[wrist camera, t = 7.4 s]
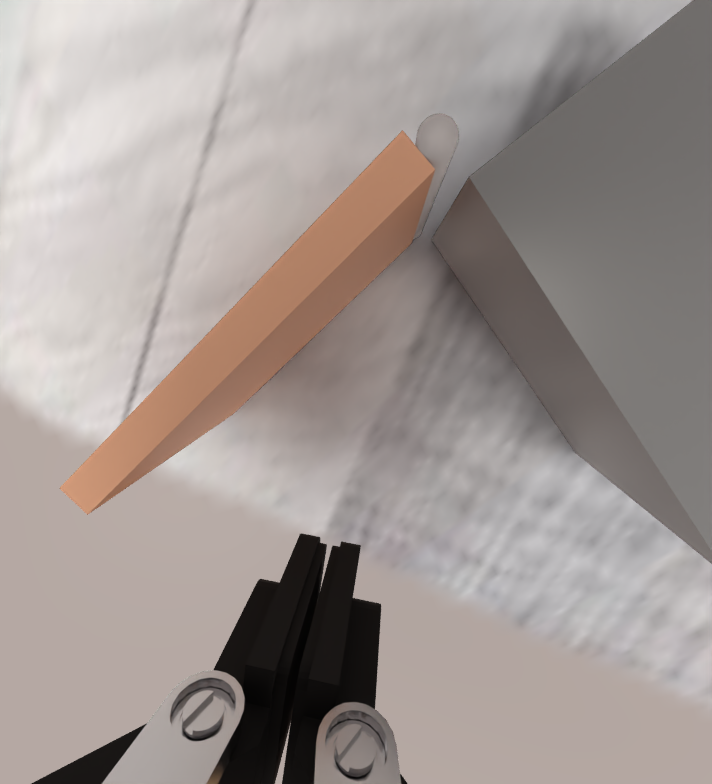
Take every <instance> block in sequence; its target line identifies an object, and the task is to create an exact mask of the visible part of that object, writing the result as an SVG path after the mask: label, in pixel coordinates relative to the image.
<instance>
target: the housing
mask: <svg viewBox="0 0 712 784" xmlns="http://www.w3.org/2000/svg"><path fill="white" fill-rule="evenodd" d="M431 240H432V241H433V243H434V244H435V246H436V247H437V249H438V250H439V252H440V253H441V255H442V256H443V258H444V259H445V261H446V262H447V264H448V265H449V267H450V268H451V269H452V271H453V272H454V274H455V275H456V277H457V278H458V280H459V281H460V283H461V284H462V286H463V287H464V289H465V290H466V292H467V293H468V295H469V296H470V298H471V299H472V301H473V302H474V303H475V305H476V306H477V308H478V309H479V311H480V312H481V314H482V315H483V317H484V318H485V320H486V321H487V323H488V324H489V326H490V327H491V329H492V330H493V332H494V333H495V335H496V336H497V337H498V339H499V340H500V342H501V343H502V345H503V346H504V348H505V349H506V351H507V352H508V354H509V355H510V357H511V358H512V360H513V361H514V363H515V364H516V366H517V367H518V369H519V370H520V371H521V373H522V374H523V376H524V377H525V379H526V380H527V382H528V383H529V385H530V386H531V388H532V389H533V391H534V392H535V394H536V395H537V397H538V398H539V400H540V401H541V403H542V404H543V405H544V407H545V408H546V410H547V411H548V413H549V414H550V416H551V417H552V419H553V420H554V422H555V423H556V425H557V426H558V428H559V429H560V431H561V432H562V434H563V435H564V437H565V438H566V439H567V441H568V442H569V444H570V445H571V447H572V448H573V450H574V451H575V453H576V454H577V455H579V456H580V457H581V458H582V459H584V460H585V461H586V462H587V463H589V464H590V465H591V466H592V467H593V468H595V469H596V470H597V471H598V472H600V473H601V474H602V475H603V476H604V477H606V478H607V479H608V480H609V481H611V482H612V483H613V484H614V485H616V486H617V487H618V488H619V489H620V490H622V491H623V492H624V493H625V494H627V495H628V496H629V497H630V498H632V499H633V500H634V501H635V502H636V503H638V504H639V505H640V506H641V507H643V508H644V509H645V510H646V511H648V512H649V513H650V514H651V515H652V516H654V517H655V518H656V519H657V520H659V521H660V522H661V523H662V524H663V525H665V526H666V527H667V528H668V529H670V530H671V531H672V532H673V533H675V534H676V535H677V536H678V537H679V538H681V539H682V540H683V541H684V542H686V543H687V544H688V545H689V546H691V547H692V548H693V549H694V550H695V551H697V552H698V553H699V554H700V555H702V556H703V557H704V558H705V559H707V560H708V561H709V562H710V563H711V564H712V0H693V1H692V2H691V3H690V4H688V5H687V6H686V7H684V8H683V9H682V10H681V11H679V12H678V13H677V14H676V15H674V16H673V17H672V18H670V19H669V20H668V21H667V22H665V23H664V24H663V25H662V26H660V27H659V28H658V29H656V30H655V31H654V32H653V33H651V34H650V35H649V36H648V37H646V38H645V39H644V40H642V41H641V42H640V43H639V44H637V45H636V46H635V47H634V48H632V49H631V50H630V51H628V52H627V53H626V54H625V55H623V56H622V57H621V58H620V59H618V60H617V61H616V62H614V63H613V64H612V65H611V66H609V67H608V68H607V69H606V70H604V71H603V72H602V73H600V74H599V75H598V76H597V77H595V78H594V79H593V80H592V81H590V82H589V83H588V84H587V85H585V86H584V87H583V88H581V89H580V90H579V91H578V92H576V93H575V94H574V95H573V96H571V97H570V98H569V99H567V100H566V101H565V102H564V103H562V104H561V105H560V106H559V107H557V108H556V109H555V110H553V111H552V112H551V113H550V114H548V115H547V116H546V117H545V118H543V119H542V120H541V121H539V122H538V123H537V124H536V125H534V126H533V127H532V128H531V129H529V130H528V131H527V132H525V133H524V134H523V135H522V136H520V137H519V138H518V139H517V140H515V141H514V142H513V143H511V144H510V145H509V146H508V147H506V148H505V149H504V150H503V151H501V152H500V153H499V154H497V155H496V156H495V157H494V158H492V159H491V160H490V161H489V162H487V163H486V164H485V165H483V166H482V167H481V168H480V169H478V170H477V171H476V172H475V173H473V174H472V175H471V176H469V178H468V179H467V181H466V183H465V184H464V186H463V188H462V189H461V191H460V193H459V194H458V196H457V198H456V199H455V201H454V203H453V204H452V206H451V208H450V209H449V211H448V213H447V214H446V216H445V218H444V219H443V221H442V223H441V224H440V226H439V228H438V229H437V231H436V233H435V234H434V236H433V238H432V239H431Z"/></svg>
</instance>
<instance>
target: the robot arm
mask: <svg viewBox="0 0 712 784" xmlns="http://www.w3.org/2000/svg"><path fill="white" fill-rule="evenodd" d="M326 547H327V544H323V543H320V537H316V536H311V535H306V534H300V536H299V538H298V540H297V543H296V545H295V548H294V550H293V552H292V555H291V557H290V560H289V562H288V564H287V567H286V569H285V571H284V574H283V576H282V579H281V581H280V583H278V582H273V581H268V580H264V579H260V580H259V581H258V582H257V584H256V586H255V588H254V590H253V592H252V594H251V596H250V598H249V600H248V602H247V604H246V606H245V608H244V610H243V612H242V614H241V616H240V618H239V620H238V622H237V624H236V626H235V628H234V630H233V632H232V634H231V636H230V638H229V640H228V642H227V644H226V646H225V648H224V650H223V652H222V654H221V656H220V658H219V660H218V662H217V664H216V666H215V668H214V670H213V671H203V672H200V673H197V674H194V675H191V676H190V677H188V678H187V679H185V680H183V681H182V682H180V683H179V684H178V685H177V686H176V687H175V688H174V689H173V690H172V692H171V693H170V694H169V695H168V696H167V698H166V699H165V700H164V702H163V703H162V705H161V706H160V707H159V708H158V710H157V711H156V712H155V714H154V715H153V716H152V718H151V719H150V720H149V722H148V723H147V724H145V725H143V726H141V727H139V728H137V729H135V730H133V731H132V732H130V733H128V734H126V735H124V736H122V737H120V738H118V739H116V740H114V741H112V742H110V743H109V744H107V745H105V746H103V747H101V748H99V749H97V750H95V751H93V752H91V753H89V754H87V755H85V756H84V757H82V758H80V759H78V760H76V761H74V762H72V763H70V764H68V765H66V766H64V767H62V768H61V769H59V770H57V771H55V772H53V773H51V774H49V775H47V776H46V777H43V778H41V779H39V780H38V781H36V782H34V783H32V784H275V780H276V777H277V773H278V769H279V765H280V761H281V757H282V753H283V750H284V746H285V741H286V738H287V734H288V730H289V726H290V732H289V739H288V746H287V753H286V760H285V767H284V774H283V781H282V784H407V782H406V781H405V780H404V778H403V777H402V775H401V774H400V770H399V763H398V754H397V746H396V742H395V739H394V735H393V731H392V729H391V728H390V726H389V724H388V722H387V721H386V719H385V718H384V717H383V716H382V715H381V714H380V713H379V712H378V711H377V710H375V699H376V682H377V666H378V649H379V634H380V616H381V604H379V603H374V602H369V601H364V600H360V599H355V598H353V591H354V585H355V579H356V572H357V566H358V560H359V553H360V547H361V545H356V544H351V543H346V542H341V545H340V547H338V546H332V550H331V553H330V557H329V561H328V564H327V568H326V572H325V576H324V579H323V583H322V587H321V581H322V574H323V567H324V561H325V554H326ZM320 587H321V590H320ZM290 722H291V725H290Z"/></svg>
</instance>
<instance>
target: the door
mask: <svg viewBox="0 0 712 784" xmlns="http://www.w3.org/2000/svg"><path fill="white" fill-rule="evenodd" d="M458 140H459V130H458V127H457V124H456V123H455V121H454V120H453V119H452V118H451V117H449V116H448V115H445V114H434V115H431V116H429V117H427V118H426V119H425V120H424V121H423V122H422V123H421V125H420V127H419V129H418V132H417V138H416V145H414V143H413V142H412V141H411V140H410V139H409V137H408V136H407V135H406V134H405V133H404V132H403V130H402V131H401V132H400V133H399V135H398V136H397V137H396V138H395V139H394V140H393V141H392V142H391V143H390V144H389V145H388V146H387V147H386V148H385V149H384V150H383V151H382V152H381V153H380V154H379V155H378V156H377V157H376V159H375V160H374V161H373V162H372V163H371V164H370V165H369V166H368V167H367V168H366V169H365V170H364V171H363V172H362V173H361V174H360V175H359V176H358V177H357V178H356V179H355V180H354V181H353V183H352V184H351V185H350V186H349V187H348V188H347V189H346V190H345V191H344V192H343V193H342V194H341V195H340V196H339V197H338V198H337V199H336V200H335V201H334V202H333V203H332V204H331V205H330V207H329V208H328V209H327V210H326V211H325V212H324V213H323V214H322V215H321V216H320V217H319V218H318V219H317V220H316V221H315V222H314V223H313V224H312V225H311V226H310V227H309V228H308V229H307V231H306V232H305V233H304V234H303V235H302V236H301V237H300V238H299V239H298V240H297V241H296V242H295V243H294V244H293V245H292V246H291V247H290V248H289V249H288V250H287V251H286V252H285V253H284V255H283V256H282V257H281V258H280V259H279V260H278V261H277V262H276V263H275V264H274V265H273V266H272V267H271V268H270V269H269V270H268V271H267V272H266V273H265V274H264V275H263V276H262V277H261V279H260V280H259V281H258V282H257V283H256V284H255V285H254V286H253V287H252V288H251V289H250V290H249V291H248V292H247V293H246V294H245V295H244V296H243V297H242V298H241V299H240V300H239V301H238V303H237V304H236V305H235V306H234V307H233V308H232V309H231V310H230V311H229V312H228V313H227V314H226V315H225V316H224V317H223V318H222V319H221V320H220V321H219V322H218V323H217V324H216V325H215V327H214V328H213V329H212V330H211V331H210V332H209V333H208V334H207V335H206V336H205V337H204V338H203V339H202V340H201V341H200V342H199V343H198V344H197V345H196V346H195V347H194V348H193V349H192V351H191V352H190V353H189V354H188V355H187V356H186V357H185V358H184V359H183V360H182V361H181V362H180V363H179V364H178V365H177V366H176V367H175V368H174V369H173V370H172V371H171V372H170V373H169V374H168V376H167V377H166V378H165V379H164V380H163V381H162V382H161V383H160V384H159V385H158V386H157V387H156V388H155V389H154V390H153V391H152V392H151V393H150V394H149V395H148V396H147V397H146V398H145V400H144V401H143V402H142V403H141V404H140V405H139V406H138V407H137V408H136V409H135V410H134V411H133V412H132V413H131V414H130V415H129V416H128V417H127V418H126V419H125V420H124V421H123V422H122V424H121V425H120V426H119V427H118V428H117V429H116V430H115V431H114V432H113V433H112V434H111V435H110V436H109V437H108V438H107V439H106V440H105V441H104V442H103V443H102V444H101V445H100V446H99V448H98V449H97V450H96V451H95V452H94V453H93V454H92V455H91V456H90V457H89V458H88V459H87V460H86V461H85V462H84V463H83V464H82V465H81V466H80V467H79V468H78V470H77V471H76V472H75V473H74V474H73V475H72V476H71V477H70V478H69V479H68V480H67V481H66V482H65V483H64V484H63V485H62V486H61V487H60V489H61V490H62V491H63V492H64V493H65V494H66V495H67V496H68V497H69V498H71V500H73V501H74V502H75V503H76V504H77V505H78V506H79V507H80V508H81V509H82V510H83V511H84V512H85V513H87V515H88V514H89V513H90V512H92V511H93V510H95V509H96V508H98V507H99V506H101V505H102V504H104V503H105V502H106V501H108V500H109V499H111V498H112V497H114V496H115V495H117V494H118V493H120V492H121V491H123V490H124V489H126V488H127V487H128V486H130V485H131V484H133V483H134V482H135V481H137V480H139V479H140V478H141V477H143V476H144V475H146V474H147V473H149V472H150V471H152V470H153V469H154V468H156V467H157V466H159V465H160V464H162V463H163V462H165V461H166V460H168V459H169V458H170V457H172V456H173V455H175V454H176V453H178V452H179V451H181V450H182V449H183V448H185V447H186V446H188V445H189V444H191V443H192V442H194V441H195V440H196V439H198V438H199V437H201V436H202V435H204V434H205V433H207V432H208V431H210V430H211V429H212V428H214V427H215V426H217V425H218V424H220V423H221V422H223V421H224V420H225V419H227V418H228V417H230V416H231V415H233V414H234V413H235V412H236V411H237V410H238V409H239V408H240V407H241V406H242V405H243V404H244V403H245V402H246V401H248V400H249V399H250V398H251V397H252V396H253V395H254V394H255V393H256V392H257V391H258V390H259V389H260V388H261V387H262V386H263V385H264V384H265V383H266V382H267V381H268V380H269V379H271V378H272V377H273V376H274V375H275V374H276V373H277V372H278V371H279V370H280V369H281V368H282V367H283V366H284V365H285V364H286V363H287V362H288V361H289V360H290V359H291V358H292V357H293V356H295V355H296V354H297V353H298V352H299V351H300V350H301V349H302V348H303V347H304V346H305V345H306V344H307V343H308V342H309V341H310V340H311V339H312V338H313V337H314V336H315V335H316V334H317V333H319V332H320V331H321V330H322V329H323V328H324V327H325V326H326V325H327V324H328V323H329V322H330V321H331V320H332V319H333V318H334V317H335V316H336V315H337V314H338V313H339V312H340V311H342V310H343V309H344V308H345V307H346V306H347V305H348V304H349V303H350V302H351V301H352V300H353V299H354V298H355V297H356V296H357V295H358V294H359V293H360V292H361V291H362V290H363V289H364V288H366V287H367V286H368V285H369V284H370V283H371V282H372V281H373V280H374V279H375V278H376V277H377V276H378V275H379V274H380V273H381V272H382V271H383V270H384V269H385V268H386V267H387V266H388V265H390V264H391V263H392V262H393V261H394V260H395V259H396V258H397V257H398V256H399V255H400V254H401V253H402V252H403V251H404V250H405V249H406V248H407V247H408V246H409V245H410V244H411V243H412V241H413V239H415V238H417V237H419V236H420V234H421V233H422V230H423V228H424V225H425V223H426V220H427V218H428V215H429V213H430V210H431V208H432V205H433V203H434V200H435V198H436V196H437V193H438V191H439V188H440V186H441V183H442V181H443V178H444V176H445V173H446V171H447V168H448V166H449V163H450V161H451V159H452V156H453V154H454V151H455V149H456V146H457V144H458Z"/></svg>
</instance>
